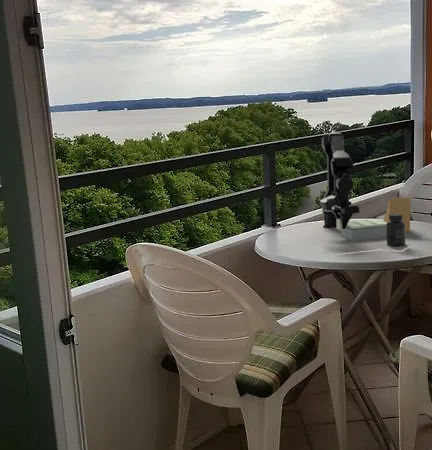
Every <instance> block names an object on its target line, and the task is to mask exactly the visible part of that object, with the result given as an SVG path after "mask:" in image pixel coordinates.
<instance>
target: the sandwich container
mask: <svg viewBox="0 0 432 450" xmlns="http://www.w3.org/2000/svg"><path fill="white" fill-rule="evenodd" d="M411 200H412V199H411V197H410V196H409V197H407V196H405V197H403V196H402V197H393V198H392V197H391V198H389V200H388V204H387V207H386V211H385V214H384V217H383V220H382V221H384V222H389V221H390V220H389V214H402V218H403V219H402V221H403V222H404V223H405V233H410V232H411Z"/></svg>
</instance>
